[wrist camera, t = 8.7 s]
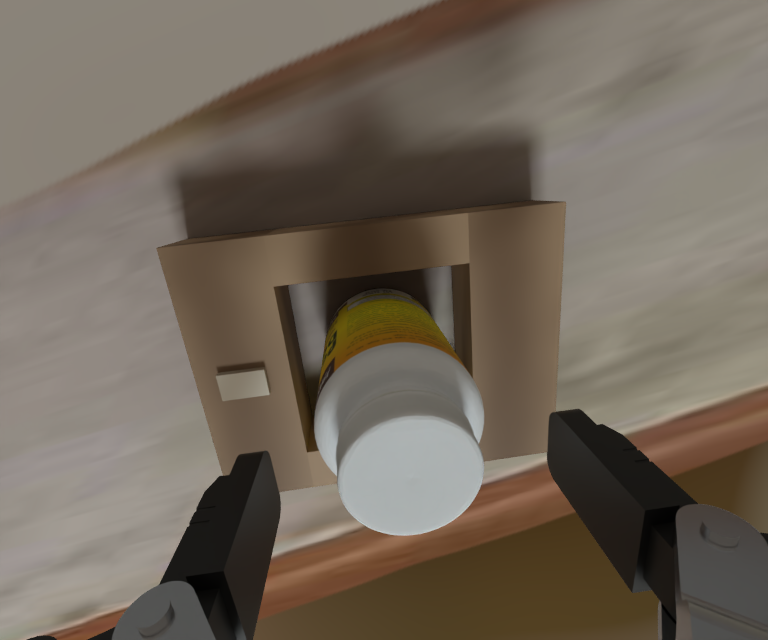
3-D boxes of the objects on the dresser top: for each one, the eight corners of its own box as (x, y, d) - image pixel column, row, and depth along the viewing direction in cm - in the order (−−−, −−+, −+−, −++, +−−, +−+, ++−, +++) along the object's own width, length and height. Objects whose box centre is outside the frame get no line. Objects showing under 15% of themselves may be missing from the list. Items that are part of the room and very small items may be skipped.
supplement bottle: (321, 288, 19) (292, 393, 9) (433, 282, 19) (524, 374, 9) (330, 391, 20) (315, 570, 11) (433, 382, 21) (509, 548, 11)
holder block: (531, 200, 18) (570, 201, 15) (526, 417, 22) (556, 454, 19) (187, 238, 17) (152, 249, 14) (245, 458, 21) (228, 504, 18)
